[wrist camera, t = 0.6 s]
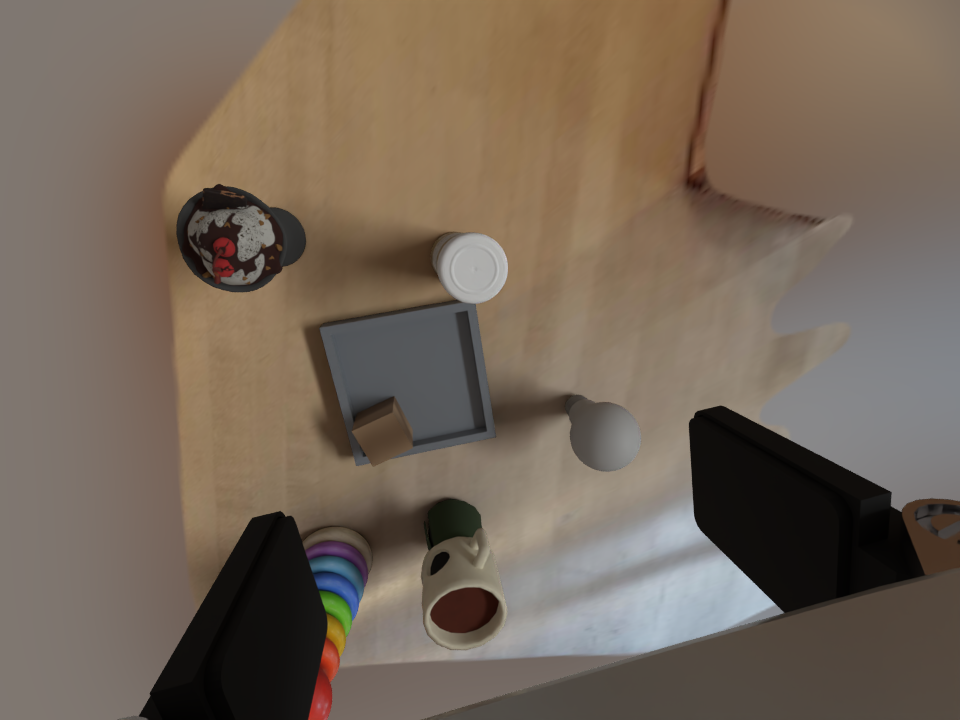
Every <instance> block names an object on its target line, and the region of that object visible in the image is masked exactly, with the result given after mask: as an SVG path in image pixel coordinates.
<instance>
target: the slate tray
mask: <svg viewBox="0 0 960 720" xmlns="http://www.w3.org/2000/svg"><path fill="white" fill-rule="evenodd" d="M319 329H320V332H321V336H322V340H323V343H324V347H325V351H326V355H327V358H328V362H329V366H330V370H331V373H332V377H333V381H334V385H335V388H336V392H337V396H338V400H339V403H340V407H341V411H342V415H343V418H344V422H345V426H346V429H347V433H348V437H349V441H350V444H351V448H352V452H353V456H354V459H355V463H356V466H359V465H364V464H369V463H370V461H369V459H368V458H367V456H366V454H365V453H364V451H363V449H362V448H361V446H360V444H359V443H358V441H357V439H356V438H355V436H354V434H353V433H352V429H353V425H354V422H355V418H356V415H357V413H359V412H361V411H363V410H365V409H368V408H370V407H372V406H374V405H376V404H378V403H380V402H383V401H385V400H387V399H389V398H391V397H393V396H395V398H396V400H397V402H398V404H399V406H400V407H401V409H402V411H403V413H404V415H405V417H406V418H407V420H408V422H409V424H410V426H411V427H412V429H413V448H412V449H410V450H408V451H406V452H404V453H401V454H399V455H397V456H395V457H393V458H398V457H402V456H407V455H412V454H417V453H422V452H427V451H431V450H436V449H441V448H446V447H451V446H455V445H460V444H465V443H470V442H475V441H480V440H484V439H489V438H494V437H496V433H495V427H494V420H493V414H492V408H491V401H490V395H489V388H488V382H487V375H486V369H485V362H484V356H483V350H482V343H481V337H480V330H479V324H478V317H477V311H476V304H469V303H464V302H461V301H459V300H453V301H448V302H442V303H436V304H431V305H425V306H419V307H413V308H408V309H402V310H396V311H391V312H385V313H379V314H374V315H368V316H362V317H357V318H351V319H345V320H339V321H334V322H328V323H323V324H322V326H321V327H320V328H319ZM393 458H391V459H393Z"/></svg>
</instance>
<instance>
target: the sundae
mask: <svg viewBox="0 0 960 720" xmlns="http://www.w3.org/2000/svg"><path fill="white" fill-rule="evenodd" d="M176 234H177V239H178V244H179V247H180V251H181V253H182V256H183V259H184V260H185V262H186V263H187V265H188V267H189V268H190V269H191V270H192V272H193V273H194V274H195V275H196V276H197V277H199V278H200V279H201V280H203V281H204V282H206V283H207V284H209V285H211V286H213V287H215V288H219V289H222V290H225V291H230V292H250V291H254V290H257V289H259V288H261V287H263V286H264V285H266V284H267V283H268V282H270V281H271V280H272V279H273V278H274V276H275V275H276V274H278V273H280V272H281V271H282V267H283V266H288V265H290V264H292V263H294V262H295V261H297V260H298V259H299V258H300V256H301V255H302V253H303V252H304V249H305V244H306V238H305V232H304V229H303V227H302V225H301V224H300V222H299V221H298V219H297V218H296V217H294V216H293V215H292V214H291V213H289V212H288V211H285V210H283V209H279V208H269V207H268V206H267V205H266V204H264V203H263V202H262V201H261V200H260V199H258V198H257V197H255V196H254V195H252V194H251V193H248V192H246V191H243V190H241V189H238V188H234V187H226V186H223V185H221V184H217V185H216V186H215V187H214V188H204V189H203V191H202V192H200V193H198V194H196V195H195V196H193V197H192V198H190V199H189V200H188V201H187V203H186V204H185V205H184V206H183V208H182V210H181V211H180V213H179V215H178V220H177V231H176Z"/></svg>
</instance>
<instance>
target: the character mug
mask: <svg viewBox="0 0 960 720" xmlns="http://www.w3.org/2000/svg"><path fill="white" fill-rule="evenodd" d="M428 519H429V531H428V534H429V537H428V534H427V529H426V524H425V521H424V529H425V535H426V541H427V546H428V550H429V551H428V552H427V554H426V556H425V557H424V561H423V565H422V572H421V579H422V584H423V592H422V609H423V624H424V627H425V630H426V632H427V635H428V636H429V637H430V638H431V639H432V640H433V641H434V642H435V643H436V644H438V645H440V646H441V647H445V648H447V649H450V650H468V649H472V648H475V647H479V646H482V645H484V644H485V643H487V642H488V641H490V640H491V639H493V638H494V637H496V635H497V634H498V633H499V632H500V630H501V629H502V628H503V626H504V624H505V620H506V616H507V607H506V602H505V598H504V594H503V590H502V586H501V582H500V578H499V574H498V570H497V566H496V562H495V558H494V554H493V553H492V551H491V550H490V546H489V542H488V538H487V534H486V532H485V530H483V529H482V525H481V515H480V514H479V512H478V511H477V510H476V508H475V507H474V506H472V505H470V504H468V503H466V502H464V501H459V500H453V499H449V500H446V501H443V502H440V503H438V504H436V505H435V506H434V507H433V508H432V509H431V510H429V512H428Z"/></svg>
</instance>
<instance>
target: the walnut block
mask: <svg viewBox="0 0 960 720" xmlns="http://www.w3.org/2000/svg"><path fill="white" fill-rule="evenodd" d="M352 433H353V434H354V436H355V438H356V439H357V441H358V443H359V444H360V446H361V448H362V449H363V451H364V453H365V454H366V456H367V458H368V459H369V461H370V463H371V464H372V466H373V467H374V466H376V465H378V464H380V463H382V462H384V461H387V460H389V459H391V458H393V457H395V456H397V455H399V454H401V453H404V452H406V451H408V450H410V449H412V448H413V429H412V427H411V426H410V424H409V422H408V420H407V418H406V417H405V415H404V413H403V411H402V409H401V407H400V406H399V404H398V402H397V400H396V398H395V396H393V397H391V398H389V399H387V400H385V401H383V402H380V403H378V404H376V405H374V406H372V407H370V408H368V409H365V410H363V411H361V412H359V413H357V415H356V418H355V422H354V425H353V429H352Z"/></svg>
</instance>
